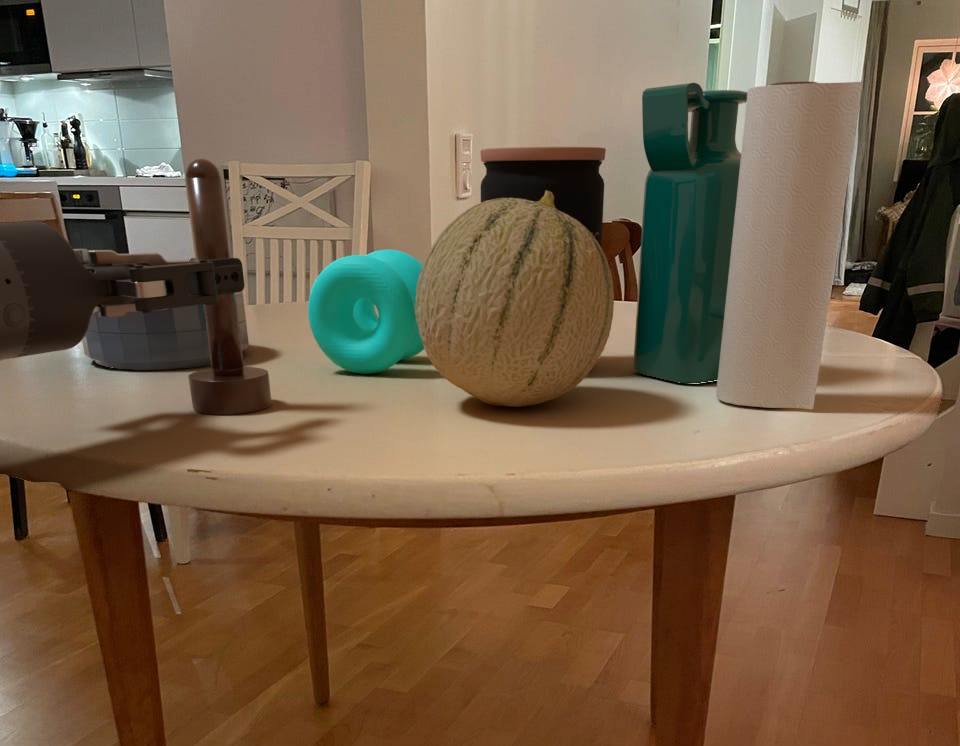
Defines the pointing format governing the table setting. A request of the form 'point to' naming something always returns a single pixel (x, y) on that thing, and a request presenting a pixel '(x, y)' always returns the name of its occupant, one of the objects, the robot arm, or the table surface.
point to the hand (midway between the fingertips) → (198, 271)
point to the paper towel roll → (785, 240)
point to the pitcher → (686, 230)
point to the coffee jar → (549, 179)
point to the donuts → (367, 310)
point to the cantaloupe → (515, 301)
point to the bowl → (155, 338)
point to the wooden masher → (220, 310)
